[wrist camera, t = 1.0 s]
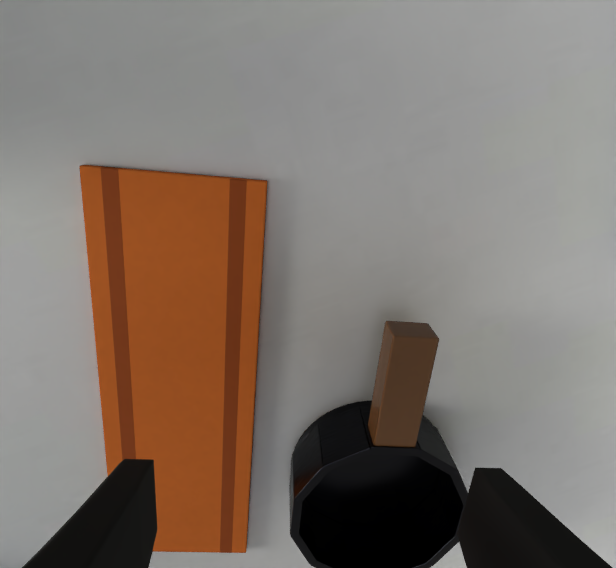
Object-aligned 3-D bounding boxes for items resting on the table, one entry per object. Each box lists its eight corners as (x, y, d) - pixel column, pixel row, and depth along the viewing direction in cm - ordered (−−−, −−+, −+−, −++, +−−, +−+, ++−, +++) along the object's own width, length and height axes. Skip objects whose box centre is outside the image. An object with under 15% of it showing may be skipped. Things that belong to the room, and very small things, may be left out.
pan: (427, 523, 24) (449, 583, 21) (285, 520, 23) (285, 581, 20) (482, 309, 19) (519, 344, 16) (306, 298, 19) (311, 332, 16)
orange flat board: (246, 546, 24) (246, 553, 23) (117, 544, 23) (114, 551, 23) (267, 180, 17) (267, 181, 16) (83, 164, 16) (78, 165, 16)
